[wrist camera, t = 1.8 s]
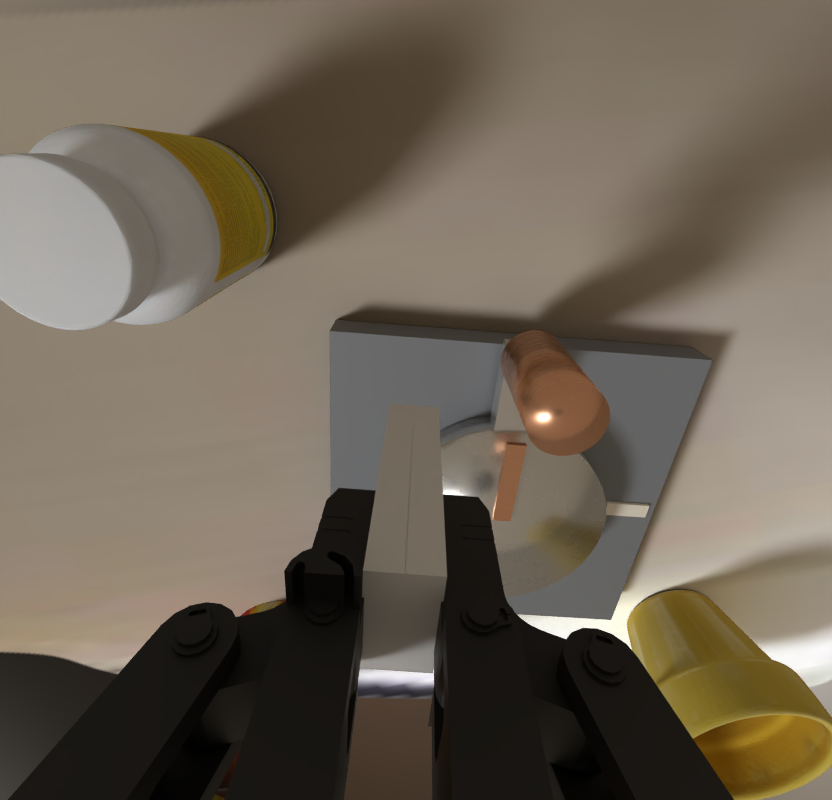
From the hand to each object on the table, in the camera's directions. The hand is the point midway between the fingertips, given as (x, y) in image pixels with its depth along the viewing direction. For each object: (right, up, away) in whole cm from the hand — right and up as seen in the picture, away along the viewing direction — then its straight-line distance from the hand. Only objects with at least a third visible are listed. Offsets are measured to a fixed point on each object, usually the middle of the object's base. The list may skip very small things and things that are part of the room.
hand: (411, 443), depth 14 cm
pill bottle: (-10, +11, +9) cm, 17 cm away
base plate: (+5, -4, +16) cm, 17 cm away
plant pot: (+20, -16, +22) cm, 33 cm away
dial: (+5, -2, +12) cm, 14 cm away
